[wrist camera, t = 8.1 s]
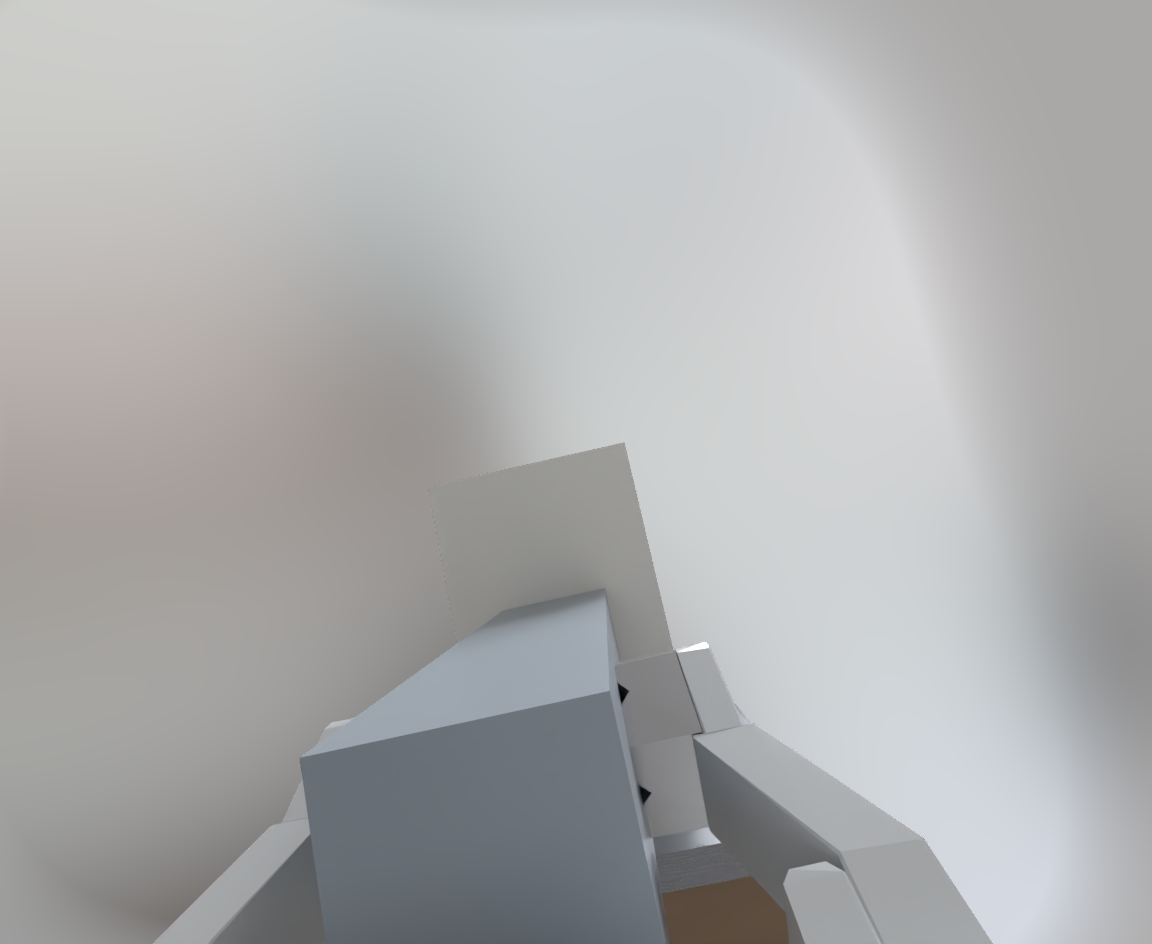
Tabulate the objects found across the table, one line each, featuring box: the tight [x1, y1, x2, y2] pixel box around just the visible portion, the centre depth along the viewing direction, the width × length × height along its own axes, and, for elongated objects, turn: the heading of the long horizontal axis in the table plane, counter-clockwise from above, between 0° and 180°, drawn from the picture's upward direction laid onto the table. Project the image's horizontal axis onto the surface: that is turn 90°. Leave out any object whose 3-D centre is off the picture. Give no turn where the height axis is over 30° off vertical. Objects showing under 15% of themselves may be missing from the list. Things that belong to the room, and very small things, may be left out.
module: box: [300, 443, 673, 944], centre depth 14 cm, size 18×6×7 cm, turn 177°
